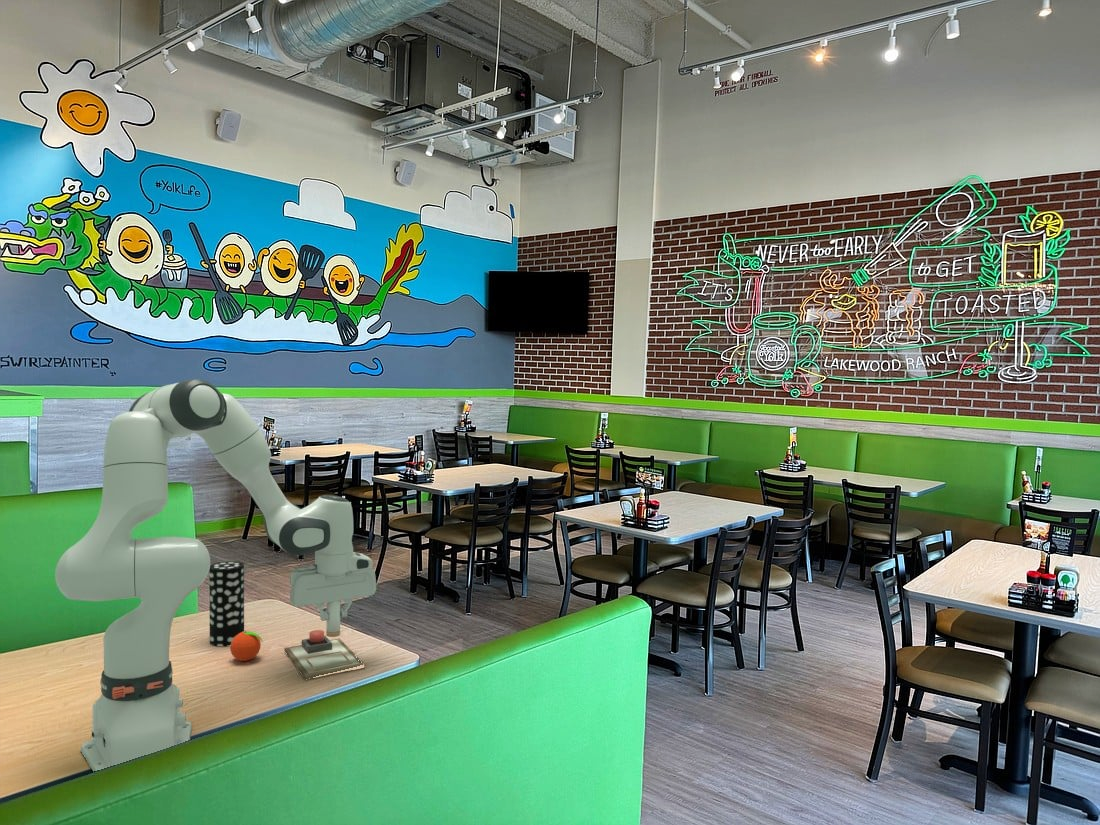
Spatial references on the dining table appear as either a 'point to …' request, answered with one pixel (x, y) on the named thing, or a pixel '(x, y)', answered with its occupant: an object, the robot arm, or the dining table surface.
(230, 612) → the spotted tube
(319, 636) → the button
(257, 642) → the clementine
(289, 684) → the dining table surface
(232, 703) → the dining table surface
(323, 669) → the board
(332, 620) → the cylinder
